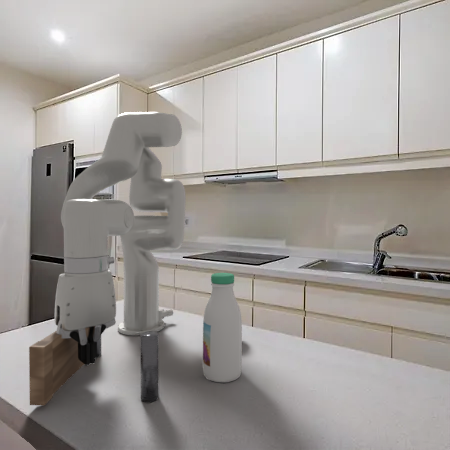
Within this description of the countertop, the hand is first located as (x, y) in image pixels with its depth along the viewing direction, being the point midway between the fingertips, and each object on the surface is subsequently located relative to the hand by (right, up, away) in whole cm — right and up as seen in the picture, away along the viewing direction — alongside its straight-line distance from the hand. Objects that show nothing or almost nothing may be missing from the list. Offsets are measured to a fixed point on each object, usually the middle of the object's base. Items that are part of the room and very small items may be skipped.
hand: (87, 361), depth 61 cm
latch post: (+13, -4, -5) cm, 14 cm away
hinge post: (-3, -4, +12) cm, 13 cm away
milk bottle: (+25, -4, +3) cm, 26 cm away
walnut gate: (-4, -3, 0) cm, 5 cm away
